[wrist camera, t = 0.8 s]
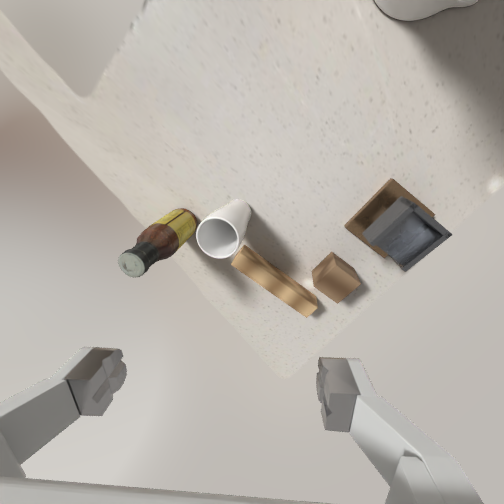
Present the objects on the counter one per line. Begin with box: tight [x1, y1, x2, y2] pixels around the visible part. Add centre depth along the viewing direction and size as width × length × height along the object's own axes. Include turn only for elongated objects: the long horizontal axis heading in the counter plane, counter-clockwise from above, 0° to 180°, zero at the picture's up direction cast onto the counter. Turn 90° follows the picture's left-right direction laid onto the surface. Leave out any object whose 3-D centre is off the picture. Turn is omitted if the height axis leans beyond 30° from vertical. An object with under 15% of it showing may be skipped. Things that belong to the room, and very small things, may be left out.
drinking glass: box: [196, 199, 251, 259], centre depth 42 cm, size 7×7×15 cm
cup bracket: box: [344, 178, 452, 272], centre depth 40 cm, size 11×10×10 cm
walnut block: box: [312, 252, 361, 304], centre depth 48 cm, size 6×6×6 cm
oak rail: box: [231, 245, 318, 318], centre depth 51 cm, size 20×4×4 cm, turn 55°
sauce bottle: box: [118, 208, 197, 277], centre depth 42 cm, size 7×6×20 cm
